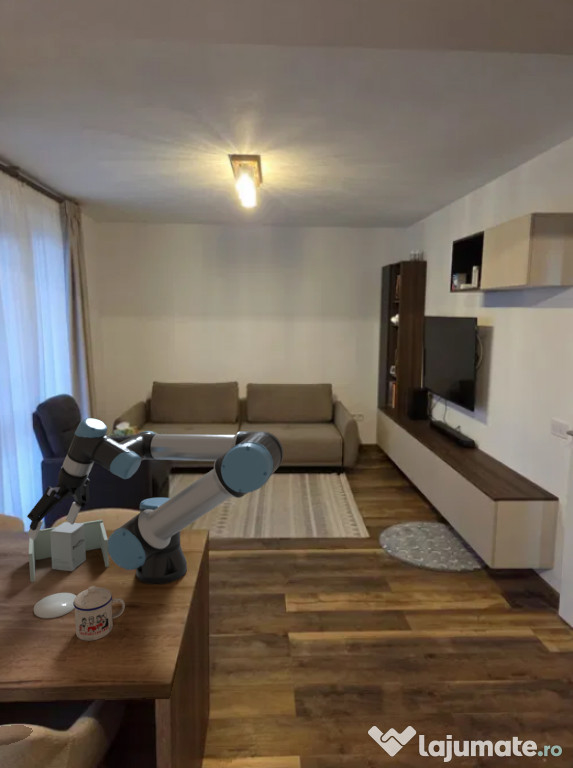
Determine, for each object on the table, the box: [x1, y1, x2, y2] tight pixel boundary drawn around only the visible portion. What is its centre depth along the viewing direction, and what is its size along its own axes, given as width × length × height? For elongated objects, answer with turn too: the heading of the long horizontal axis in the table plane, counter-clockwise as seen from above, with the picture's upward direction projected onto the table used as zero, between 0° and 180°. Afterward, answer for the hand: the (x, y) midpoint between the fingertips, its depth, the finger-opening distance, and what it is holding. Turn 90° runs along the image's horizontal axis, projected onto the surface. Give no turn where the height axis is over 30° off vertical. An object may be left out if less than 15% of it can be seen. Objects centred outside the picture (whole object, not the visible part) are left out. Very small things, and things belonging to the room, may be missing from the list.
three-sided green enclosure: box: [28, 519, 110, 583], centre depth 158 cm, size 15×22×10 cm
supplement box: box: [50, 521, 87, 572], centre depth 157 cm, size 7×7×13 cm
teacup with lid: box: [73, 585, 126, 642], centre depth 126 cm, size 12×9×12 cm
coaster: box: [33, 592, 77, 619], centre depth 136 cm, size 11×11×1 cm
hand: (51, 529), depth 146 cm, fingers open, 13 cm apart
